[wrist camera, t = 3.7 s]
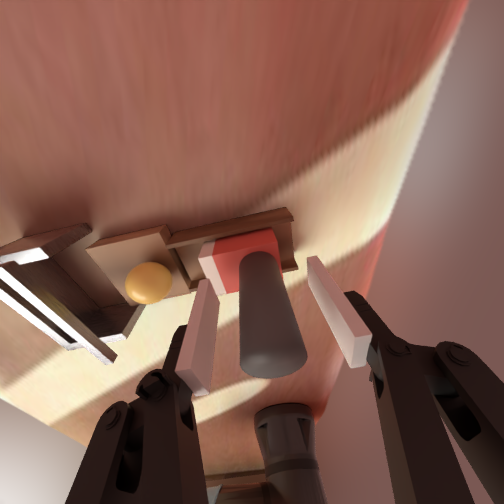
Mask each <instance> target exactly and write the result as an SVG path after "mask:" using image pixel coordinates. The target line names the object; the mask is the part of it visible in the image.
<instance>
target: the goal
mask: <svg viewBox="0 0 504 504" xmlns="http://www.w3.org/2000/svg"><path fill="white" fill-rule="evenodd" d="M91 232H92V231H91V229H90V228H89V226H88V225H87V224H86V223H83V224H79V225H75V226H70V227H66V228H62V229H58V230H53V231H49V232H45V233H41V234H36V235H32V236H28V237H24V238H21V239H18V240H16V241H14V242H12V243H9V244H7V245H5V246H2V247H0V299H1V300H2V301H4V302H5V303H6V304H8V305H9V306H10V307H12V308H13V309H14V310H15V311H17V312H18V313H19V314H21V315H22V316H23V317H25V318H26V319H27V320H29V321H30V322H31V323H33V324H34V325H35V326H36V327H38V328H39V329H40V330H42V331H43V332H44V333H46V334H47V335H48V336H50V337H51V338H52V339H54V340H55V341H56V342H57V343H59V344H60V345H61V346H63V347H64V348H65V349H67V350H68V351H69V350H74V349H79V348H86V349H87V350H88V351H89V352H91V353H92V354H93V355H94V356H95V357H97V358H98V359H99V360H100V361H101V362H103V363H104V364H105V365H107V364H113V363H114V361H115V359H116V357H117V356H118V355H117V354H116V353H115V352H114V351H113V350H111V349H110V348H109V347H108V346H107V345H106V344H105V343H109V342H114V341H119V340H125V339H127V338H128V336H129V334H130V333H131V331H132V329H133V327H134V326H135V324H136V322H137V320H138V319H139V317H140V315H141V313H142V311H143V310H144V308H145V306H146V304H138V305H133V306H130V305H129V303H123V304H119V305H114V306H109V307H104V308H99V307H98V306H97V305H96V304H95V303H94V302H93V301H92V300H91V299H90V298H89V297H88V295H87V294H86V293H85V292H84V291H83V290H82V289H81V288H80V287H79V286H78V285H77V284H76V283H75V282H74V281H73V280H72V279H71V278H70V276H69V275H68V274H67V273H66V272H65V271H64V270H63V269H62V268H61V267H60V266H59V265H58V264H57V263H56V262H55V261H54V260H53V259H52V256H53V255H55V254H57V253H58V252H60V251H62V250H63V249H65V248H66V247H68V246H70V245H71V244H73V243H75V242H76V241H78V240H80V239H81V238H83V237H85V236H86V235H88V234H89V233H91Z"/></svg>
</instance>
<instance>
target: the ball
mask: <svg viewBox="0 0 504 504" xmlns="http://www.w3.org/2000/svg"><path fill="white" fill-rule="evenodd" d="M172 283H173V280H172V275H171V273H170V271H169V270H168V269H167V268H166V267H165V266H163V265H162V264H159V263H156V262H146V263H142V264H139V265H137V266H136V267H134V268H133V269H132V270H131V271H130V272H129V274H128V275H127V277H126V280H125V289H126V292H127V294H128V296H129V297H130V298H131V299H132V300H134V301H135V302H138V303H141V304H153V303H156V302H159V301H160V300H162V299H163V298H165V297H166V296H167V295H168V293H169V292H170V290H171V288H172Z"/></svg>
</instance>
